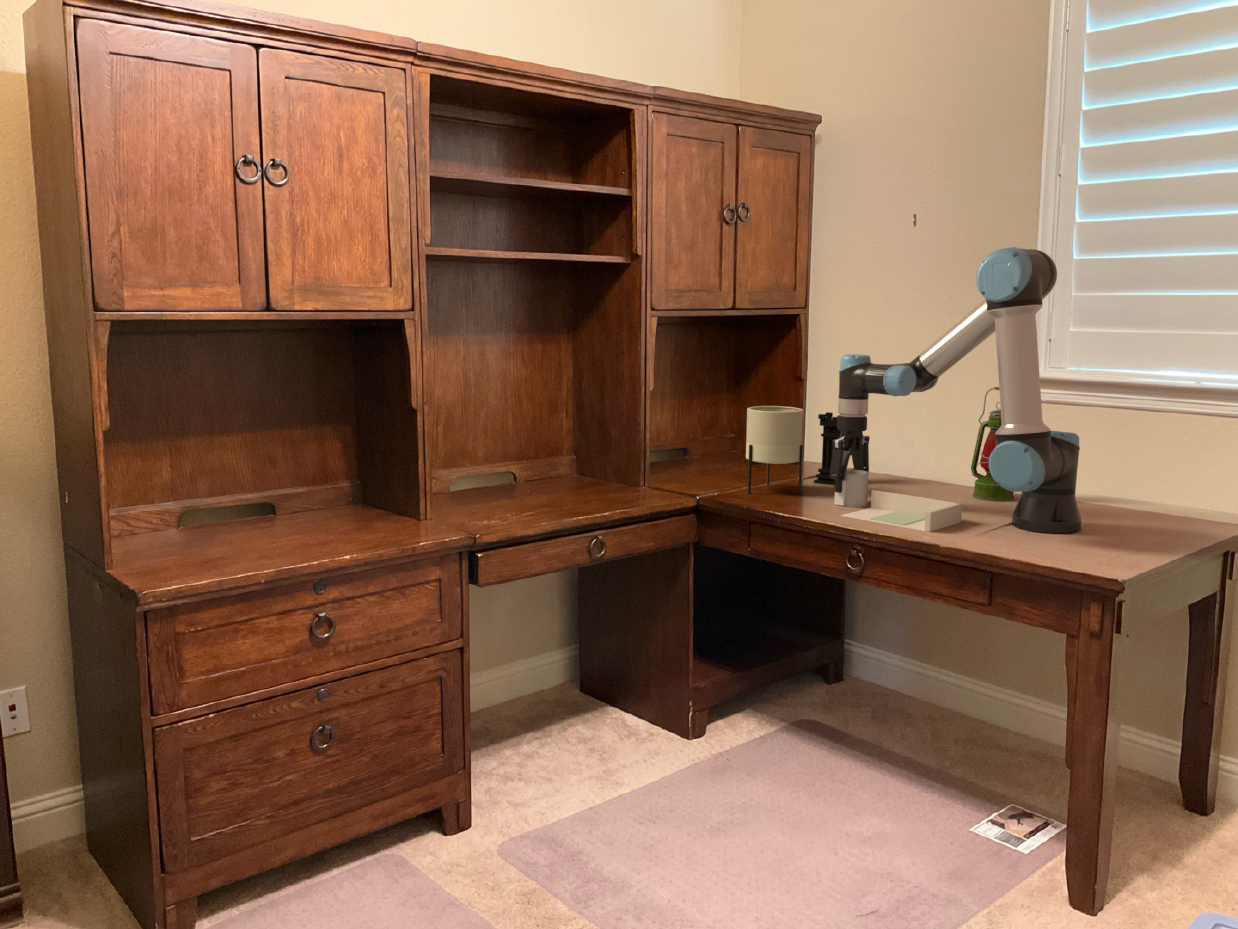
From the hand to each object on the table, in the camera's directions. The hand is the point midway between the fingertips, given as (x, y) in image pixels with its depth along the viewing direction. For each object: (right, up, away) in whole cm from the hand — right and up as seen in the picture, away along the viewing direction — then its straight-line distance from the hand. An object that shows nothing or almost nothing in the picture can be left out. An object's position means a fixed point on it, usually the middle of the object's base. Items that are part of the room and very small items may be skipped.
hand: (848, 502), depth 265 cm
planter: (-17, +2, +19) cm, 25 cm away
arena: (+8, -4, -18) cm, 20 cm away
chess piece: (+3, +5, +33) cm, 33 cm away
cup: (0, -1, 0) cm, 1 cm away
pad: (+8, -3, -18) cm, 20 cm away
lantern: (+42, +1, +12) cm, 44 cm away
